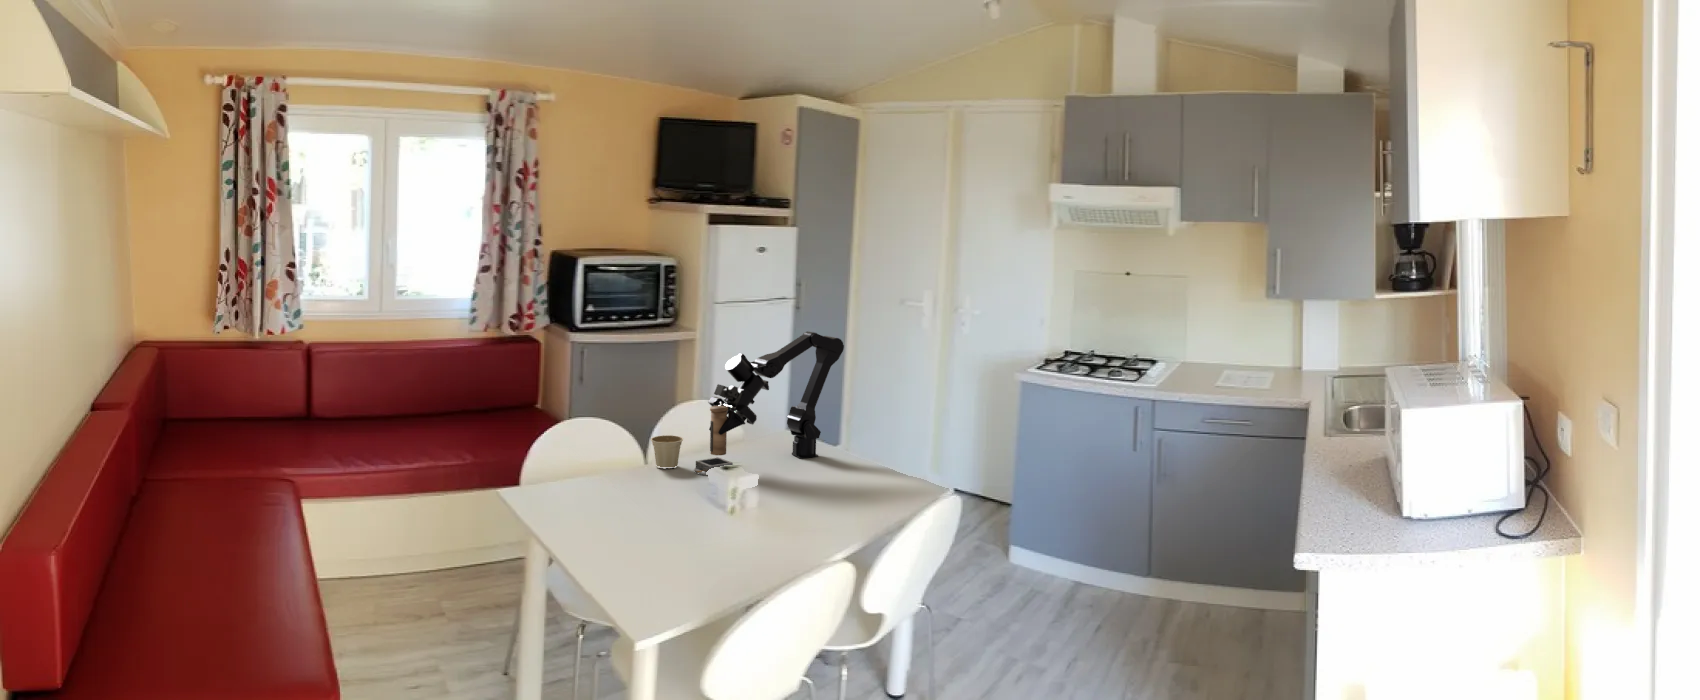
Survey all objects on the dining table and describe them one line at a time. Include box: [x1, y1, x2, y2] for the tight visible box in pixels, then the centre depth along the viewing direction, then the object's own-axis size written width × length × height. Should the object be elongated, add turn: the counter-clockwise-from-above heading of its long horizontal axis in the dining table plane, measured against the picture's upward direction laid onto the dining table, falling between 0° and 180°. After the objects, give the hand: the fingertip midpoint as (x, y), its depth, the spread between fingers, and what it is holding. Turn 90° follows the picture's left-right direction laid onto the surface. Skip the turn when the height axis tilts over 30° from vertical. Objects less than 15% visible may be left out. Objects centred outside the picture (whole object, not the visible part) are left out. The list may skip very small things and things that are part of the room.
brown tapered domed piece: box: [709, 406, 728, 456], centre depth 301 cm, size 5×5×14 cm
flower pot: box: [650, 434, 684, 467], centre depth 304 cm, size 9×9×9 cm
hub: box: [693, 456, 734, 476], centre depth 302 cm, size 12×12×3 cm
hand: (714, 432), depth 300 cm, fingers closed on brown tapered domed piece, 5 cm apart
